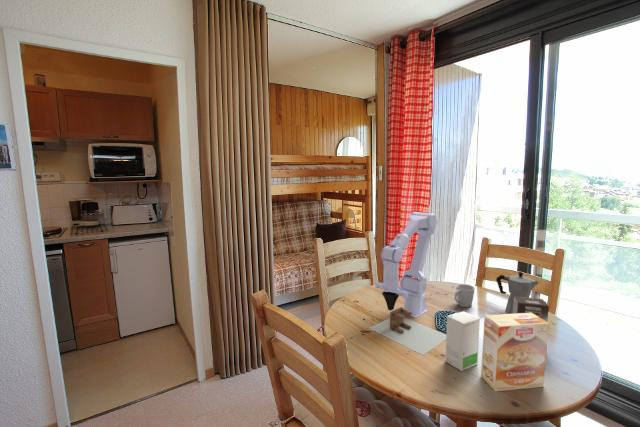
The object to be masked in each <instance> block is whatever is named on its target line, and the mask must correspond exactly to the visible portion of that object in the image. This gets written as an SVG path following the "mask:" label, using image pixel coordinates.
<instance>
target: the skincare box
mask: <svg viewBox="0 0 640 427" xmlns="http://www.w3.org/2000/svg"><path fill="white" fill-rule="evenodd" d="M480 320H481V317H478V316H475V315H473V314H470V313H469V312H466V311H464V310H463V311H460V312H454V313H453V314H449V315H446V333H445V334H446V340H445V360H444V361H445V362H446V363H447V364H449V365H451V367H454V368H456V369H457V370H459V371H460V372H463V371H465V370H467V369H470V368H472V367H474V366H477V365H478V364H479V344H480V340H479V339H480V322H481V321H480Z"/></svg>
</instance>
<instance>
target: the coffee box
mask: <svg viewBox="0 0 640 427" xmlns="http://www.w3.org/2000/svg"><path fill="white" fill-rule="evenodd" d="M549 309H550V305H549V304H548V303H547V302H546V301H545V300H544V299H542V298H534V297H529V298H528V297H520V296H514V303H513V314H517V313H530V312H531V313H533V314H535V315H536V316H538V317H540V318H541V319H543V320H545V321H546V322H548V320H549V319H548V318H549V311H550V310H549Z"/></svg>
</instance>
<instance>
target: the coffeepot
mask: <svg viewBox="0 0 640 427" xmlns="http://www.w3.org/2000/svg"><path fill="white" fill-rule="evenodd" d="M517 274H518V275H505V274H504V275H503V274H500V275H498V276H497V277H496V283H497V286H498V288H499V289H498V290H499V292H500V294H503V295H505V294H507V291H504V287H503V284H502V281H503V280H505V281H507V285H508V293H510V294H509V297H508V299H507V303H506V307H505V311H506V312H507V314H513V303H514V296H520V297H528V298H530V297H529V296H531V293H532V290H533V289H534V288H535V287H536V286H537V285H538V284H540V282H539V280H538V281H537V280H535V279H532V278H530V277H527V276H523V274H524V272H523V271H519V272H518V273H517ZM501 280H502V281H501Z"/></svg>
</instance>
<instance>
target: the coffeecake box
mask: <svg viewBox="0 0 640 427" xmlns="http://www.w3.org/2000/svg"><path fill="white" fill-rule="evenodd" d="M483 322H484V323H483V336H482V338H483V339H482V354H481V369H480V377H481V378H482V379H483V380H484V381H485V382H486V383H487V384H488V385H489V387H490V388H491V389H492V390H493V391H494V392H503V391H514V390H522V389H523V390H524V389H526V390H527V389H533V388H534V389H536V388H543V387H544V384H545V383H544V381H545V369H546V360H547V352H548V351H547V349H548V340H549V338H548V337H549V328H550V323H549V322H548V321H547V322H546V321H545V320H543V319H541V318H540V317H538V316H536V315H535V314H533V313H531V312H530V313H517V314H509V313H503V314H486V315H484V321H483Z"/></svg>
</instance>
